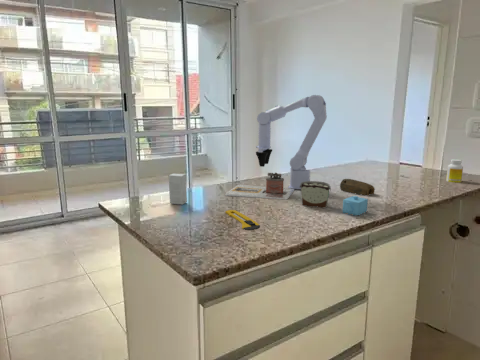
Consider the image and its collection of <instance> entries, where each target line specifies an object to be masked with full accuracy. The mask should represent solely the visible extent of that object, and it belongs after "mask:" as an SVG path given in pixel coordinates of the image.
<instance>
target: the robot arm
mask: <svg viewBox="0 0 480 360" xmlns="http://www.w3.org/2000/svg"><path fill="white" fill-rule="evenodd" d="M300 108H308V109H309V110H310V111H311V112H312V114H313V117H314V119H313V121H312V123H311V125H310V127H309V128H308V130H307V133H306V135H305V136H304V139H303V141H302V143H301V145H300V146H299V149H298V150H297V151H296V153H295V155H293V157H291V158H290V161H289V166H290V169H289V170H290V171H289V172H290V173H289V175H290V176H289V177H290V178H289V186H288V187H287V188H288V189H295V190H301V187H300V184H301V183H302V182H306V181H311V169H307V168H306V165H307V163H308V156H309V154H310V152H311V149H312V147H313V146H314V143H315V142H316V139H317V138H318V135H319V134H320V132H321V130H322V129H323V127H324V124H325V123H326V120H327V116H328V115H327V102H326V101H325V99H324V97H323V96H322V95H320V94H319V95H318V94H317V95H316V94H313V95H309V96H307V97H303V98H302V97H301V98H300V99H298V100H295V101H293V102H292V103H289V104H286V105H285V106H283V105H282V104H281V105H278V104H276V105H275V106H274V107H273V108H270V109H266V110H265V112H264V111H261V112H260V113H259V114H258V115H257V118H256V119H257V120H256V121H257V122H258V145H256V146H255V147H256V149H258V151H255V155H256V156H257V159H258V164H259V167H263V168H264V167H265V165H268V164H269V162H270V157H271V154H272V152H273V149H272V148H271V129H272V128H271V123H272V122H275V121H277V120H280V119H283V118H285V117H286V114H287V113H289V112H292V111H294V110H298V109H300ZM299 187H300V188H299Z"/></svg>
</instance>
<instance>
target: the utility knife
mask: <svg viewBox="0 0 480 360" xmlns="http://www.w3.org/2000/svg"><path fill="white" fill-rule="evenodd" d="M224 213H225V214H226V215H228V216H229V217H231V218H233V219H235V220H236V221H237V222H240V224H241V225H242V226H241V229H242V230H244V229H245V230H244V231H255V230H257V229H259V228H260V227H261V225H260V224H259V223H258V222H257V221H255V220H253V219H252V218H250V217H249V216H247V215H245V214H243V213H242V212H240V211H237V210H235V209H228V210H225V212H224ZM254 229H255V230H254Z"/></svg>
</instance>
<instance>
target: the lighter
mask: <svg viewBox="0 0 480 360" xmlns="http://www.w3.org/2000/svg"><path fill="white" fill-rule="evenodd" d="M267 176H268V177H266V178H265V183H266V184H265V187H266V191H265V193H268V194H281V195H285V194H284V193H285V192H283V188H284V181H285V178H284V177H283V178H282V173H278V172H274V173H273V172H267Z"/></svg>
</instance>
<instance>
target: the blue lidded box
mask: <svg viewBox="0 0 480 360" xmlns="http://www.w3.org/2000/svg"><path fill="white" fill-rule="evenodd" d="M368 200H369V199H368V198H364V197H361V196H360V197H359V196H357V195H352V196H348V197H346V198H344V199H342V212H343V213H342V214H345V213H348V214H347V215H350V214H353V215H352V216H355V215H359V216H361V215H363V214H365V213H367V212H368V202H369V201H368ZM366 211H367V212H366ZM364 212H365V213H364ZM362 213H363V214H362ZM360 214H361V215H360Z"/></svg>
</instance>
